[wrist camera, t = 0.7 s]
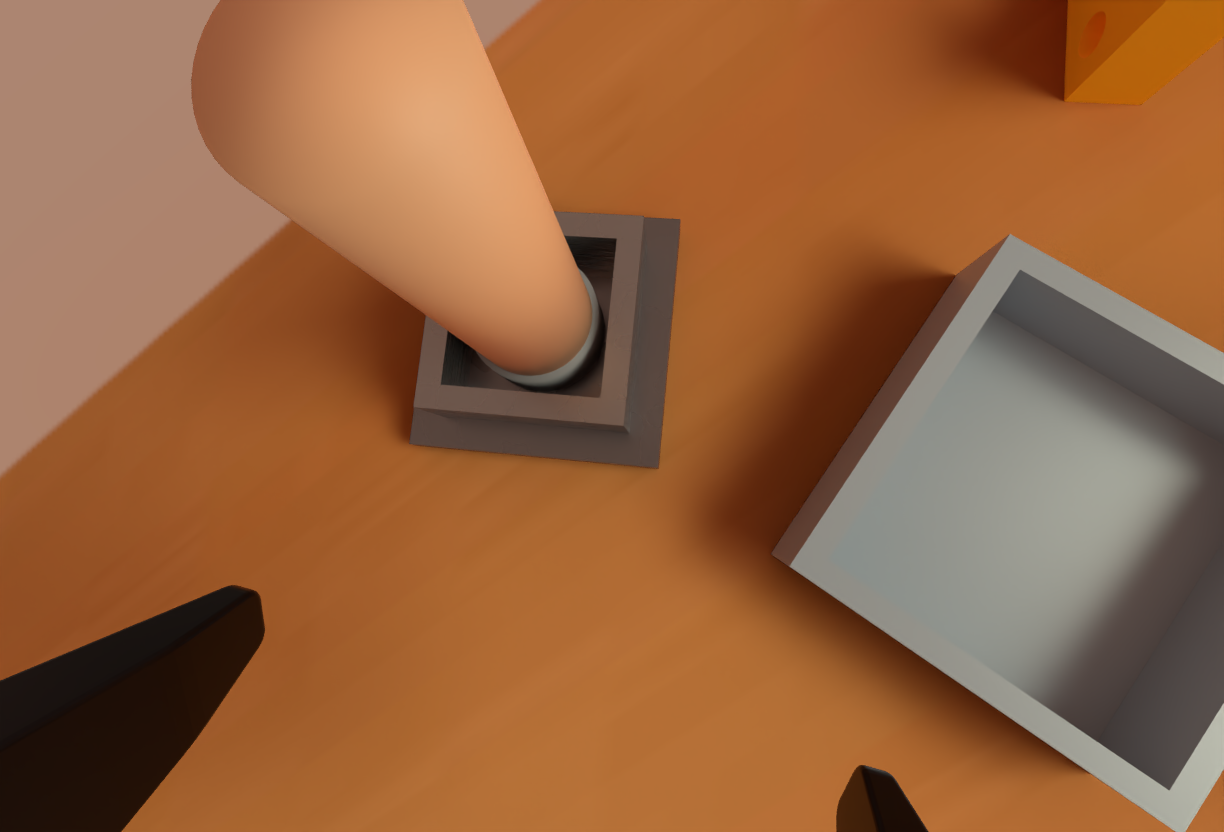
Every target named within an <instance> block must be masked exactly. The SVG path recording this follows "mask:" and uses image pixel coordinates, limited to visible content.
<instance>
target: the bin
mask: <svg viewBox="0 0 1224 832" xmlns="http://www.w3.org/2000/svg"><path fill="white" fill-rule="evenodd" d="M771 555H773V556H774V557H776V558H777V559H779V560H780V561H782V562H783V563H784V564H786V565H787V566H789V567H790V568H792V569H793V570H795V571H796V572H798V573H799V574H800V575H802V576H803V577H805V578H806V579H808V580H809V581H811V582H812V583H814V584H815V585H816V586H818V587H819V588H821V589H822V590H824V591H825V592H827V593H828V594H830V595H831V596H832V597H834V598H835V599H837V600H838V601H840V602H841V603H843V604H844V605H846V606H847V607H848V608H850V609H851V610H853V611H854V612H856V613H857V614H859V615H860V616H862V617H863V618H864V619H866V620H867V621H869V622H870V623H872V624H873V625H875V626H876V627H878V628H879V629H881V630H882V631H883V632H885V633H886V634H888V635H889V636H891V637H892V638H894V639H895V640H897V641H898V642H899V643H901V644H902V645H904V646H905V647H907V648H908V649H910V650H911V651H913V652H914V653H915V654H917V655H918V656H920V657H921V658H923V659H924V660H926V661H927V662H929V663H930V664H931V665H933V666H934V667H936V668H937V669H939V670H940V671H942V672H943V673H945V674H946V675H947V676H949V677H950V678H952V679H953V680H955V681H956V682H958V683H959V684H961V685H962V686H963V687H965V688H966V689H968V690H969V691H971V692H972V693H974V694H975V695H977V696H978V697H979V698H981V699H982V700H984V701H985V702H987V703H988V704H990V705H991V706H993V707H994V708H995V709H997V710H998V711H1000V712H1001V713H1003V714H1004V715H1006V716H1007V717H1009V718H1010V719H1012V720H1013V721H1014V722H1016V723H1017V724H1019V725H1020V726H1022V727H1023V728H1025V729H1026V730H1028V731H1029V732H1030V733H1032V734H1033V735H1035V736H1036V737H1038V738H1039V739H1041V740H1042V741H1044V742H1045V743H1046V744H1048V745H1049V746H1051V747H1052V748H1054V749H1055V750H1057V751H1058V752H1060V753H1061V754H1062V755H1064V756H1065V757H1067V758H1068V759H1070V760H1071V761H1073V762H1074V763H1076V764H1077V765H1078V766H1080V767H1081V768H1083V769H1084V770H1086V771H1087V772H1089V773H1090V774H1092V775H1093V776H1095V777H1096V778H1097V779H1099V780H1100V781H1102V782H1103V783H1105V784H1106V785H1108V786H1109V787H1111V788H1112V789H1114V790H1115V791H1117V792H1118V793H1120V794H1121V795H1122V796H1124V797H1125V798H1127V799H1128V800H1130V801H1131V802H1133V803H1134V804H1136V805H1137V806H1139V807H1140V808H1142V809H1143V810H1145V811H1146V812H1148V813H1149V814H1150V815H1152V816H1153V817H1155V818H1156V819H1158V820H1159V821H1161V822H1162V823H1164V824H1165V825H1167V826H1168V827H1170V828H1171V829H1173V830H1174V831H1176V832H1185V831H1186V830H1187V828H1188V826H1189V825H1190V823H1191V822H1192V820H1193V818H1194V817H1195V815H1196V813H1197V812H1198V810H1199V809H1200V807H1201V805H1202V804H1203V802H1204V800H1205V799H1206V797H1207V796H1208V794H1209V792H1210V791H1211V789H1212V787H1213V786H1214V784H1215V783H1216V781H1217V779H1218V778H1219V776H1220V774H1221V773H1222V771H1223V770H1224V353H1222V352H1221V351H1219V350H1217V349H1215V348H1213V347H1212V346H1210V345H1208V344H1206V343H1204V342H1203V341H1201V340H1199V339H1197V338H1195V337H1194V336H1192V335H1190V334H1188V333H1187V332H1185V331H1183V330H1181V329H1179V328H1178V327H1176V326H1174V325H1172V324H1170V323H1169V322H1167V321H1165V320H1163V319H1161V318H1160V317H1158V316H1156V315H1154V314H1152V313H1151V312H1149V311H1147V310H1145V309H1143V308H1142V307H1140V306H1138V305H1136V304H1134V303H1133V302H1131V301H1129V300H1127V299H1125V298H1124V297H1122V296H1120V295H1118V294H1117V293H1115V292H1113V291H1111V290H1109V289H1108V288H1106V287H1104V286H1102V285H1100V284H1099V283H1097V282H1095V281H1093V280H1091V279H1090V278H1088V277H1086V276H1084V275H1082V274H1081V273H1079V272H1077V271H1075V270H1073V269H1072V268H1070V267H1068V266H1066V265H1064V264H1063V263H1061V262H1059V261H1057V260H1055V259H1054V258H1052V257H1050V256H1048V255H1047V254H1045V253H1043V252H1041V251H1039V250H1038V249H1036V248H1034V247H1032V246H1030V245H1029V244H1027V243H1025V242H1023V241H1021V240H1020V239H1018V238H1016V237H1014V236H1012V235H1011V234H1009V235H1008V236H1007V237H1006V238H1004V239H1003V240H1002V241H1000V242H999V243H998V244H996V245H995V246H994V247H992V248H991V249H990V250H988V251H987V252H986V253H985V254H983V255H982V256H981V257H979V258H978V259H977V260H975V261H974V262H973V263H971V264H970V265H969V266H967V267H966V268H965V269H963V270H962V271H961V272H960V273H958V274H957V275H956V276H955V278H954V279H953V281H952V282H951V284H950V285H949V287H948V288H947V290H946V291H945V293H944V294H943V296H942V297H941V299H940V300H939V302H938V303H937V305H936V306H935V308H934V309H933V311H932V312H931V314H930V315H929V317H928V318H927V320H926V321H925V323H924V324H923V326H922V327H921V329H920V330H919V332H918V333H917V335H916V336H915V338H914V339H913V341H912V342H911V344H910V345H909V347H908V348H907V350H906V351H905V353H904V354H903V356H902V357H901V359H900V360H899V362H898V363H897V365H896V366H895V368H894V369H893V371H892V372H891V374H890V375H889V377H888V378H887V380H886V381H885V383H884V384H883V386H882V387H881V389H880V390H879V392H878V393H877V395H876V396H875V398H874V399H873V401H872V403H871V404H870V406H869V407H868V409H867V410H866V412H865V413H864V415H863V416H862V418H861V419H860V421H859V422H858V424H857V425H856V427H855V428H854V430H853V431H852V433H851V434H850V436H849V437H848V439H847V440H846V442H845V443H844V445H843V446H842V448H841V449H840V451H839V452H838V454H837V455H836V457H835V458H834V460H833V461H832V463H831V464H830V466H829V467H828V469H827V470H826V472H825V473H824V475H823V476H822V478H821V479H820V481H819V482H818V484H817V485H816V487H815V488H814V490H813V491H812V493H811V494H810V496H809V497H808V499H807V500H806V502H805V503H804V505H803V506H802V508H801V509H800V511H799V512H798V514H797V515H796V517H795V518H794V520H793V521H792V523H791V524H790V526H789V527H788V529H787V530H786V532H785V533H784V535H783V536H782V538H781V539H780V541H779V542H778V544H777V545H776V547H775V548H774V550H773V551H772V553H771Z"/></svg>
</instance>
